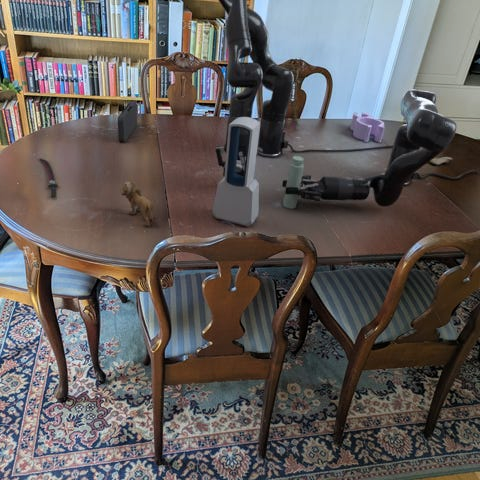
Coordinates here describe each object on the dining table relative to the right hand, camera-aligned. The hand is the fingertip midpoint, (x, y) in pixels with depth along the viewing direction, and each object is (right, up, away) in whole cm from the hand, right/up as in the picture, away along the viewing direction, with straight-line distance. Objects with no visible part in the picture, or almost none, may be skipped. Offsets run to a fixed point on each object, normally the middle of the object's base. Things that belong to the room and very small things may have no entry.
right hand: (284, 187), depth 147 cm
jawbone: (+66, +19, +53) cm, 87 cm away
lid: (-16, +6, +7) cm, 18 cm away
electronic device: (-16, -10, -7) cm, 20 cm away
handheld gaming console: (-60, +27, +44) cm, 79 cm away
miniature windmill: (+8, +36, +69) cm, 79 cm away
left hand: (-16, +4, +9) cm, 19 cm away
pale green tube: (+2, -5, +4) cm, 7 cm away
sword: (-77, +3, +5) cm, 77 cm away
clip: (+43, +32, +69) cm, 88 cm away
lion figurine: (-43, -10, -11) cm, 46 cm away
